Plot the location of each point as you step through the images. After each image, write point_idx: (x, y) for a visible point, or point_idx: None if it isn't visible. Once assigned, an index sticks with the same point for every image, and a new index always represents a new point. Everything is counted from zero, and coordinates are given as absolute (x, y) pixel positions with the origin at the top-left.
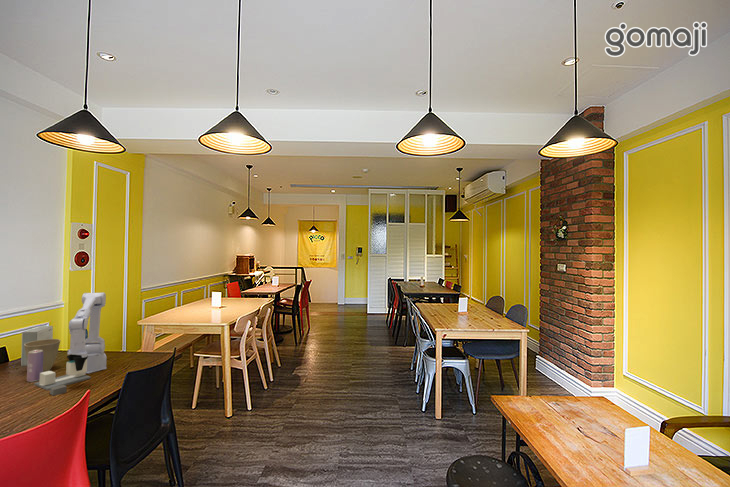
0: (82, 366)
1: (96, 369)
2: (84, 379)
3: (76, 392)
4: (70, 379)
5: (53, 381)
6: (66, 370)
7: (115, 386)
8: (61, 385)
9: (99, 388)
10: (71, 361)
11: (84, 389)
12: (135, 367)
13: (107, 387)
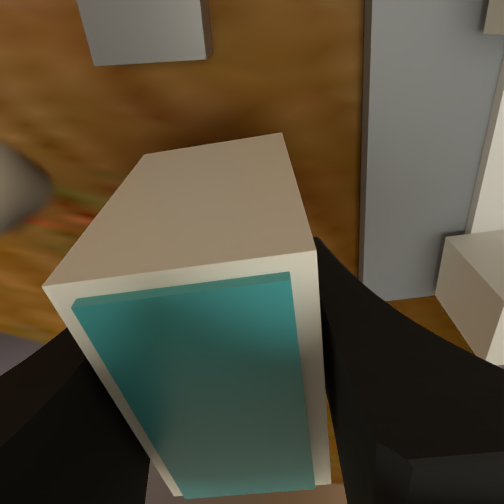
0: None
1: (496, 365)
2: (361, 262)
3: (50, 128)
4: (454, 187)
5: (501, 9)
6: (280, 156)
7: (30, 338)
8: (187, 28)
9: (49, 271)
10: (209, 340)
11: (99, 196)
12: (332, 463)
13: (39, 306)
